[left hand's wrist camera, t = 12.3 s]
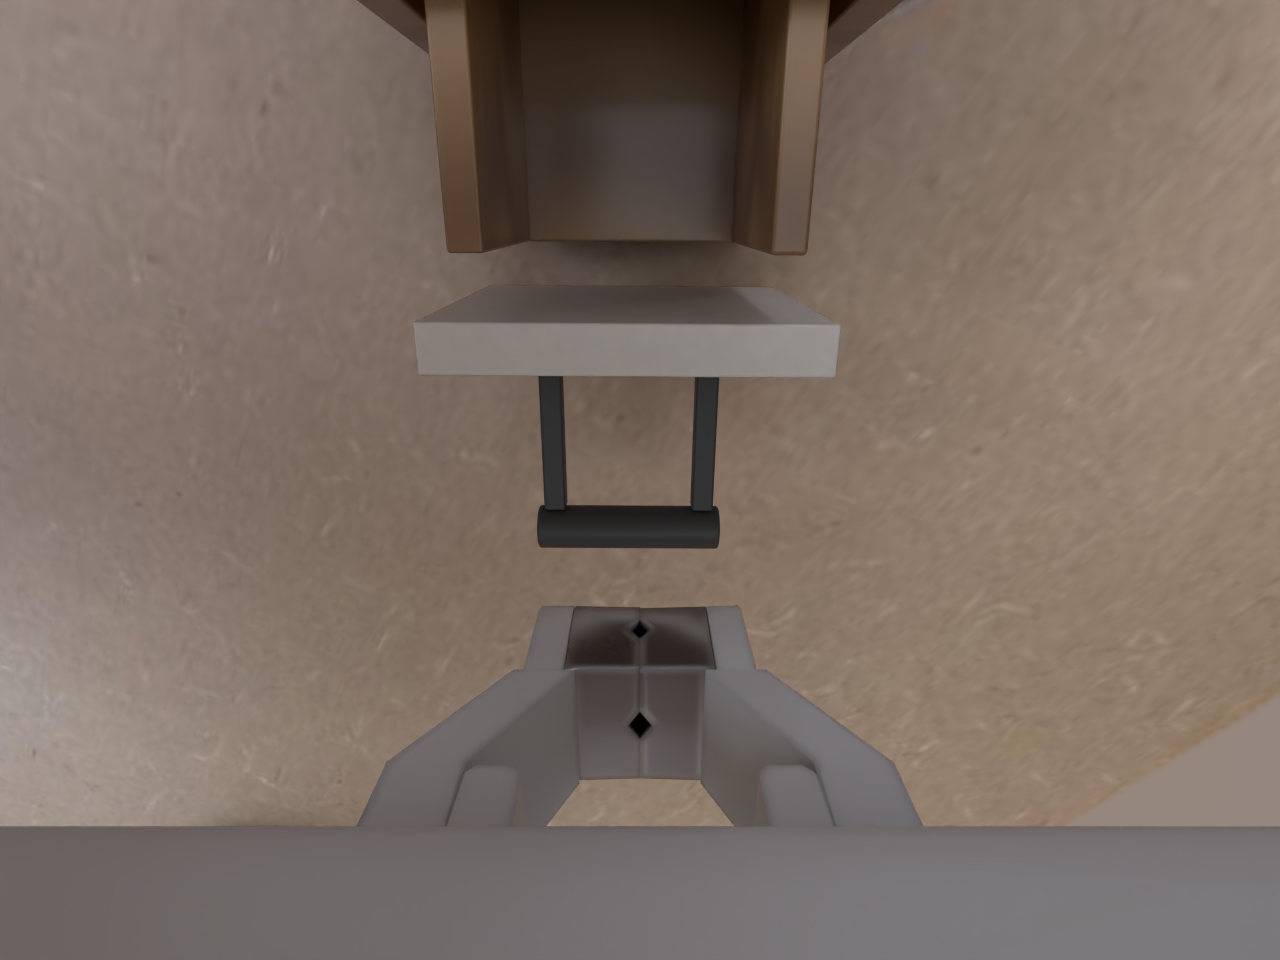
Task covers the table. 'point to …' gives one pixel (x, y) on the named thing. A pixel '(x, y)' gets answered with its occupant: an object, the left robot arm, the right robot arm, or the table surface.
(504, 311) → the drawer
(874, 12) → the cabinet
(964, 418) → the table surface
